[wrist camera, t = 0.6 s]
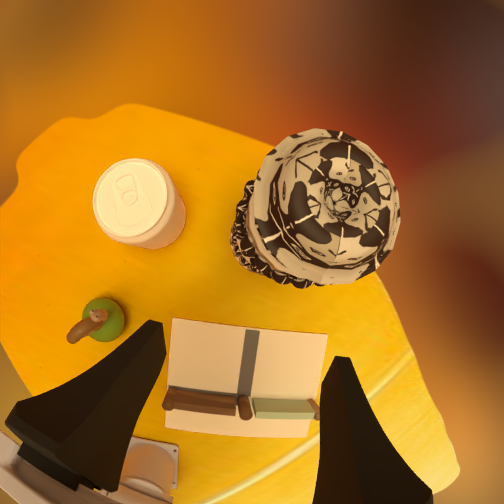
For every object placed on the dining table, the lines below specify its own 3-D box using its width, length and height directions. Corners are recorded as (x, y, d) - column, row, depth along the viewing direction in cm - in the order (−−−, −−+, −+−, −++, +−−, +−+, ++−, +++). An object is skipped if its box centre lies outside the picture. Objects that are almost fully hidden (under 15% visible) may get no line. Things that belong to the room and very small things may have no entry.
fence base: (248, 405, 36) (251, 420, 32) (167, 395, 35) (161, 410, 31) (249, 395, 36) (253, 409, 32) (167, 385, 35) (162, 399, 31)
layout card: (305, 435, 37) (306, 437, 37) (165, 425, 35) (165, 427, 35) (326, 333, 38) (328, 334, 38) (173, 317, 36) (172, 317, 36)
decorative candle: (293, 283, 38) (413, 310, 13) (220, 269, 37) (226, 279, 12) (305, 213, 39) (427, 143, 14) (235, 197, 38) (266, 87, 13)
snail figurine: (143, 316, 36) (112, 338, 24) (109, 344, 35) (70, 373, 23) (118, 282, 36) (77, 289, 24) (85, 311, 35) (38, 327, 23)
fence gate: (251, 405, 36) (255, 419, 32) (252, 396, 36) (256, 410, 32) (313, 407, 37) (322, 420, 33) (315, 398, 37) (325, 411, 33)
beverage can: (137, 259, 36) (103, 257, 24) (117, 201, 36) (79, 176, 24) (196, 234, 37) (186, 220, 25) (173, 176, 37) (156, 139, 25)
